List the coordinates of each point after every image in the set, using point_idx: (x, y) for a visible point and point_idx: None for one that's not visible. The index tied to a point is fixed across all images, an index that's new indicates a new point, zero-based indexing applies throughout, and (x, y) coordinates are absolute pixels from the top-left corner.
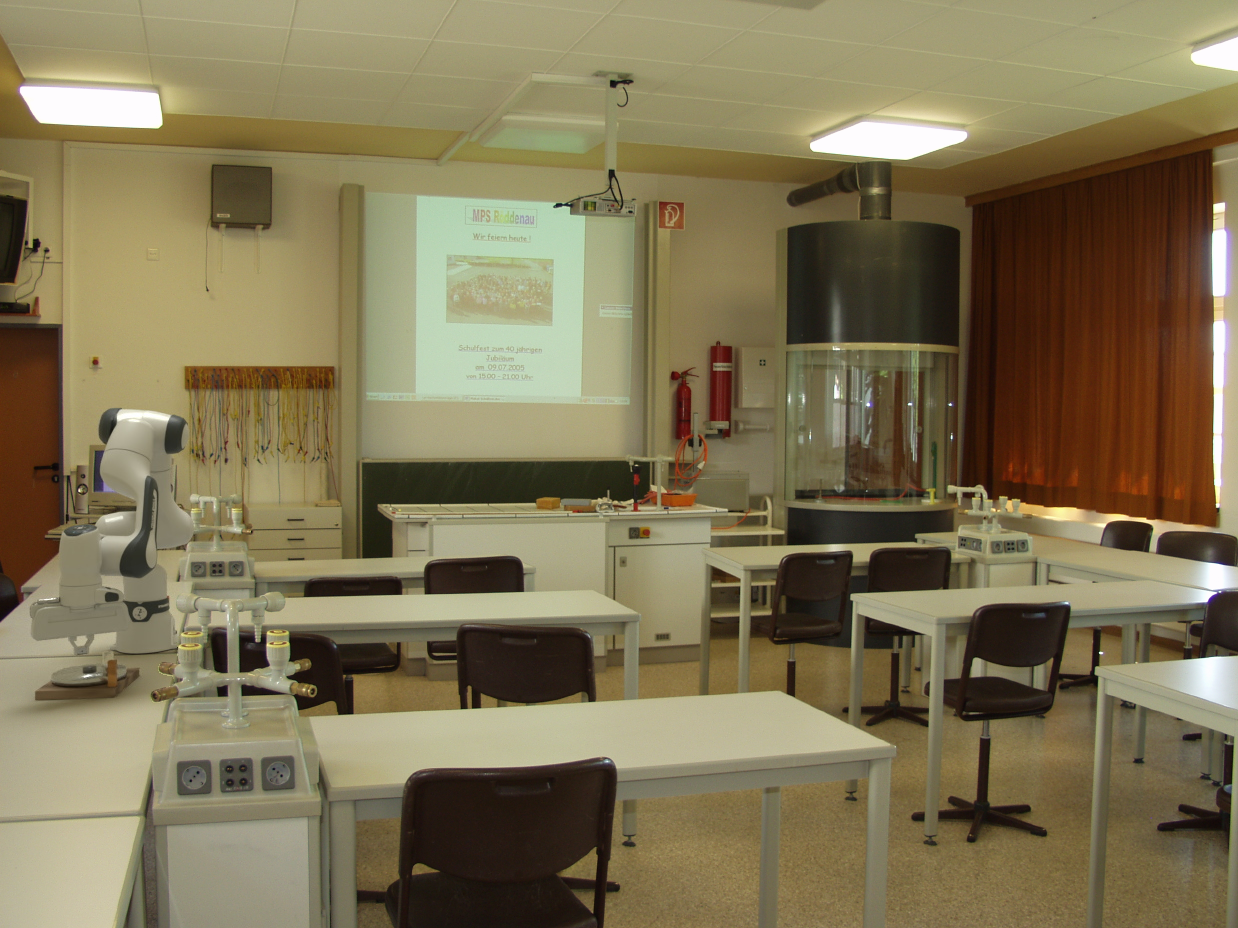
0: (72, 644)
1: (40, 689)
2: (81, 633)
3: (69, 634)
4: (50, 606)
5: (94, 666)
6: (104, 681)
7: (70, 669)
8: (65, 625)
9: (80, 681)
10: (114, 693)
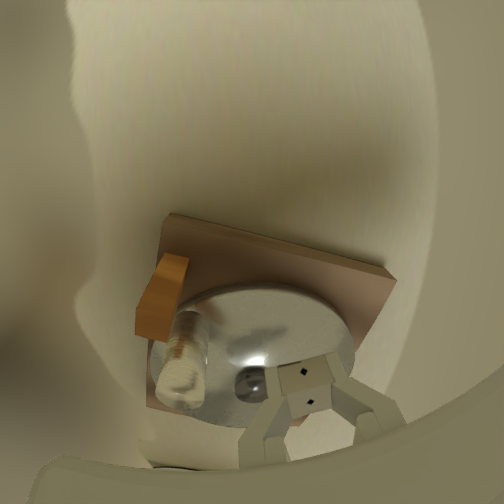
0: (373, 390)
1: (382, 295)
2: (344, 463)
3: (432, 429)
4: None
5: (240, 390)
6: (202, 295)
7: None
8: (484, 472)
9: (283, 291)
10: (167, 217)
